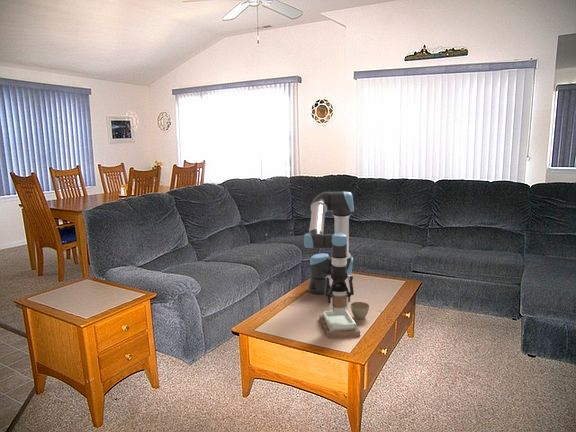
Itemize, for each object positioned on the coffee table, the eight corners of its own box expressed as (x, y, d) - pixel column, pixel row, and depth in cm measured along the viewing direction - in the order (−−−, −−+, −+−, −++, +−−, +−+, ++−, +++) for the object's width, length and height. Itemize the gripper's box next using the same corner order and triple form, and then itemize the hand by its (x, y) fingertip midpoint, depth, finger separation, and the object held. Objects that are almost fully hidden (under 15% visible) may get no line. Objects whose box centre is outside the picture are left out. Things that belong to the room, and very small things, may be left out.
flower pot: (355, 322, 222) (355, 309, 221) (347, 315, 231) (347, 302, 230) (372, 320, 224) (372, 307, 223) (364, 313, 234) (364, 300, 233)
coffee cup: (345, 309, 219) (346, 281, 217) (348, 315, 211) (348, 286, 208) (329, 309, 219) (329, 281, 216) (331, 316, 211) (331, 287, 208)
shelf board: (319, 319, 226) (319, 315, 226) (348, 317, 228) (348, 313, 228) (328, 338, 205) (328, 333, 204) (360, 336, 207) (360, 331, 206)
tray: (322, 316, 224) (322, 311, 223) (346, 314, 226) (346, 309, 225) (330, 331, 206) (330, 325, 206) (356, 329, 208) (356, 323, 207)
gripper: (320, 268, 206) (320, 312, 210) (361, 266, 208) (360, 310, 212) (317, 263, 213) (317, 307, 217) (356, 261, 216) (356, 304, 219)
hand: (338, 308), depth 215 cm, fingers closed on coffee cup, 7 cm apart
